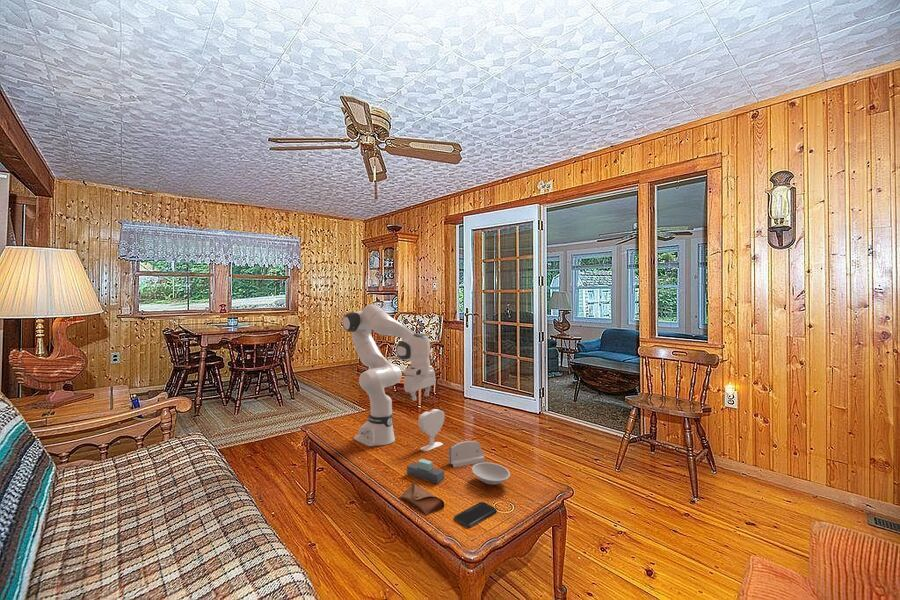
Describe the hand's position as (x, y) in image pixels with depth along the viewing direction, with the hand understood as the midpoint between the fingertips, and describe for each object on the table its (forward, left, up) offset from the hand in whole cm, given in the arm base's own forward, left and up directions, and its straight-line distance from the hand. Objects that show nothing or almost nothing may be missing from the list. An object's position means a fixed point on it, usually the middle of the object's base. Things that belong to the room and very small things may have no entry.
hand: (420, 398), depth 186 cm
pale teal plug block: (+12, -13, -28) cm, 34 cm away
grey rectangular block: (+12, -13, -29) cm, 34 cm away
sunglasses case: (+22, -30, -30) cm, 48 cm away
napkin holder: (+19, +10, -30) cm, 36 cm away
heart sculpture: (-5, +16, -29) cm, 34 cm away
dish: (+38, -3, -29) cm, 48 cm away
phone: (+44, -27, -30) cm, 60 cm away
